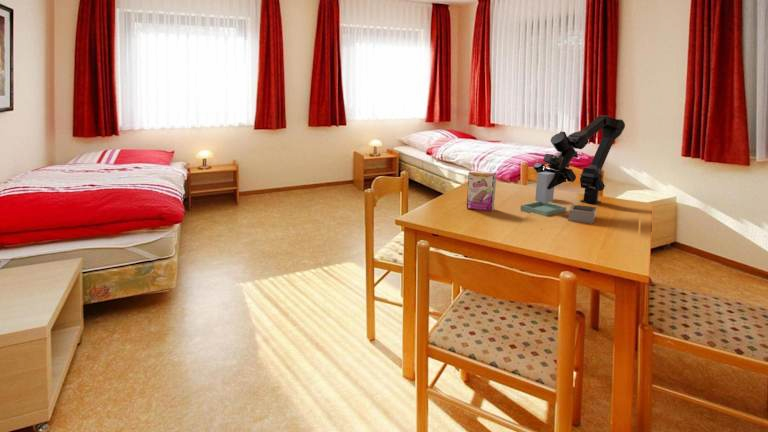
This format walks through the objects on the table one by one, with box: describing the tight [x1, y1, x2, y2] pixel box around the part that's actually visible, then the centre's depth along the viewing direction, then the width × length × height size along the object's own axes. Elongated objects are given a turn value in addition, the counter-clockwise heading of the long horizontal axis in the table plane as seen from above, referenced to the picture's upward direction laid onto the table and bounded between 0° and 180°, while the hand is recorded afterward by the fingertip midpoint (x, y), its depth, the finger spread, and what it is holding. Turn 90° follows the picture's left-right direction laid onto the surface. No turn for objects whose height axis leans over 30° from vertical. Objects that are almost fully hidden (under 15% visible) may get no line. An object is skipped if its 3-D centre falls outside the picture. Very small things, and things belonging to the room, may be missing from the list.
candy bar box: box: [466, 170, 497, 212], centre depth 200 cm, size 11×5×16 cm, turn 65°
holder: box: [567, 204, 597, 224], centre depth 184 cm, size 9×9×5 cm
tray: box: [520, 201, 567, 217], centre depth 198 cm, size 13×13×2 cm
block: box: [535, 172, 555, 203], centre depth 195 cm, size 5×5×12 cm
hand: (542, 187), depth 195 cm, fingers closed on block, 5 cm apart
